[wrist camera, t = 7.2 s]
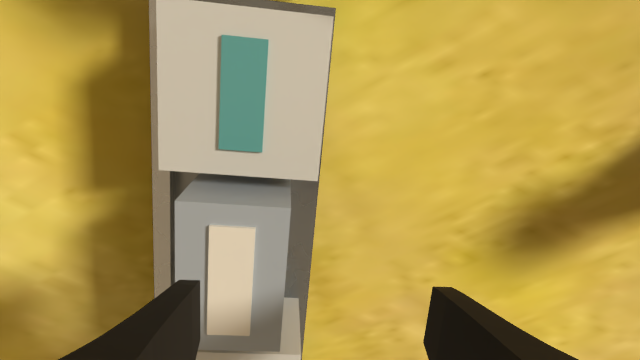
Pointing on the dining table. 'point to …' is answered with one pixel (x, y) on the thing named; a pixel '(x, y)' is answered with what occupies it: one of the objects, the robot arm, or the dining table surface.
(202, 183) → the block
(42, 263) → the dining table surface
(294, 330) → the module
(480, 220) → the dining table surface
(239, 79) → the block
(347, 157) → the dining table surface
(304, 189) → the rail
